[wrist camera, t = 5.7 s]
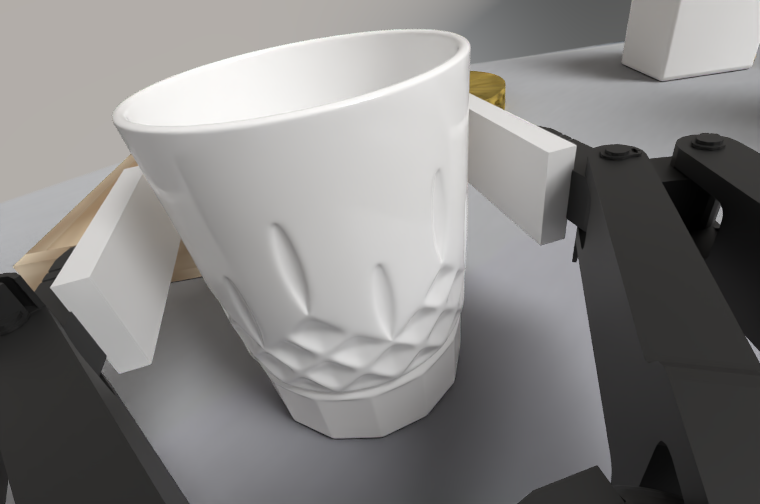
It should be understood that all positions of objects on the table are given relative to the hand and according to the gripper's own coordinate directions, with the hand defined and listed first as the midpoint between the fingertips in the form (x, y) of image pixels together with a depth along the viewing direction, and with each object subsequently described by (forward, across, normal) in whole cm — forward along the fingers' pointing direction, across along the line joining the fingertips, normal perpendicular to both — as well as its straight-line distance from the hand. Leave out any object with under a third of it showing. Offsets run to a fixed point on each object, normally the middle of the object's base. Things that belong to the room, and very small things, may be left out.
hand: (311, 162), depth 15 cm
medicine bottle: (+16, +34, -6) cm, 38 cm away
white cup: (-4, 0, -6) cm, 7 cm away
